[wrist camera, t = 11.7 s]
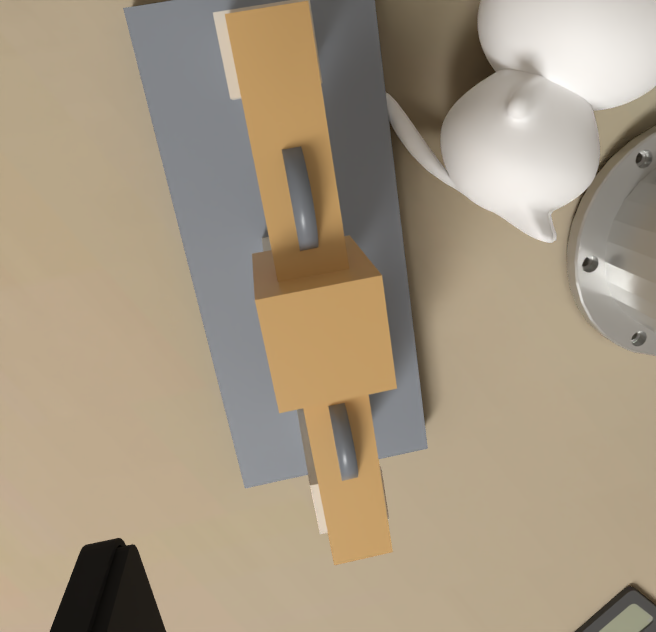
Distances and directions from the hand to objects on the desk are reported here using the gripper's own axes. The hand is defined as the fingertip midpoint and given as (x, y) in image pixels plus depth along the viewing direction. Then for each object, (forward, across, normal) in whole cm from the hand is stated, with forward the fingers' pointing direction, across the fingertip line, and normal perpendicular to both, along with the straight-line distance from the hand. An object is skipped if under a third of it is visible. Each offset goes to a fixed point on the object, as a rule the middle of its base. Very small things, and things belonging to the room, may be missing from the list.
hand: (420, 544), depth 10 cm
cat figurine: (+21, -10, -7) cm, 24 cm away
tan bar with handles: (+16, 0, 0) cm, 16 cm away
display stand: (+20, +1, 0) cm, 21 cm away
